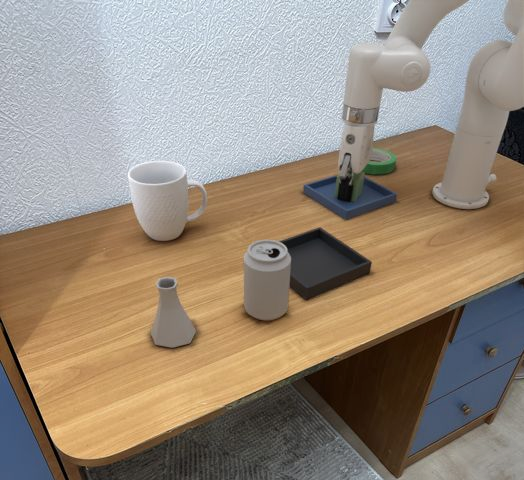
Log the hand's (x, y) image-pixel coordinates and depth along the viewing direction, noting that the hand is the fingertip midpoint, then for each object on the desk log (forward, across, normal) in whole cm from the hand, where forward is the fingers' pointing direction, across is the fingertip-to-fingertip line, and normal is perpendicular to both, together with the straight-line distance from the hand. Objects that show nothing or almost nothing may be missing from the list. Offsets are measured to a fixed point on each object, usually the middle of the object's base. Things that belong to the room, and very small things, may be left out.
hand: (348, 194), depth 118 cm
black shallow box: (+1, -30, -3) cm, 31 cm away
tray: (+1, 0, 0) cm, 1 cm away
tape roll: (+1, +20, 0) cm, 20 cm away
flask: (+1, -59, +10) cm, 60 cm away
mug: (+1, -32, +28) cm, 43 cm away
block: (0, 0, 0) cm, 0 cm away
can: (+1, -46, -1) cm, 47 cm away
